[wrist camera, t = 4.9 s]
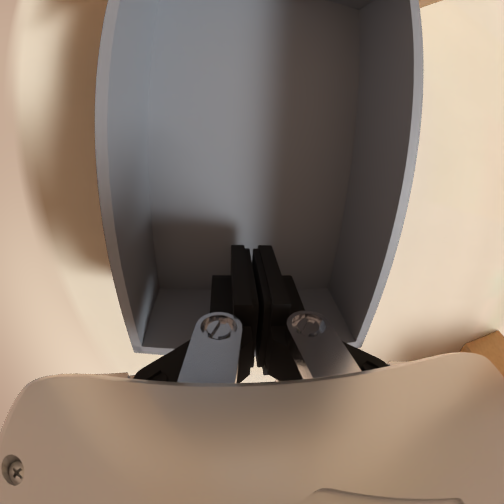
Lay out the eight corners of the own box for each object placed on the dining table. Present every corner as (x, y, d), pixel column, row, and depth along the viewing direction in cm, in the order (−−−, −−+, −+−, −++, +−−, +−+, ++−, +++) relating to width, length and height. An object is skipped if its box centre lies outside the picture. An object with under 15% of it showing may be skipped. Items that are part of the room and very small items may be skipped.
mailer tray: (154, -10, 7) (125, -56, 3) (363, 8, 8) (414, -22, 4) (154, 290, 13) (134, 352, 9) (330, 290, 14) (360, 347, 10)
